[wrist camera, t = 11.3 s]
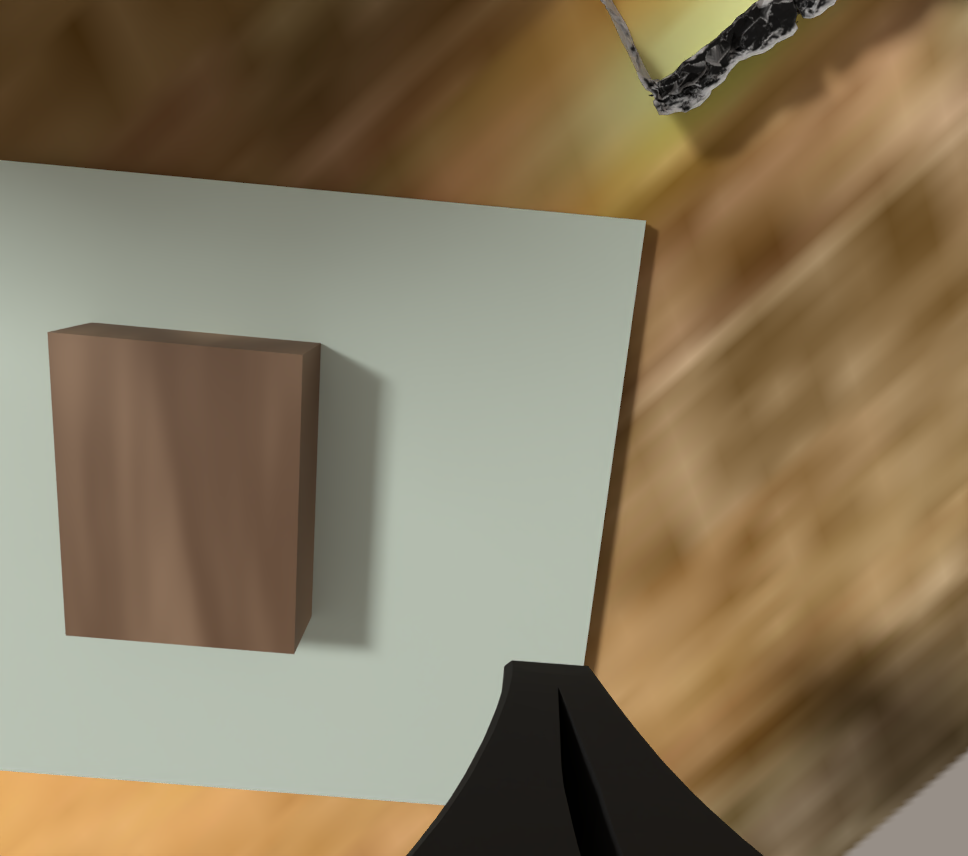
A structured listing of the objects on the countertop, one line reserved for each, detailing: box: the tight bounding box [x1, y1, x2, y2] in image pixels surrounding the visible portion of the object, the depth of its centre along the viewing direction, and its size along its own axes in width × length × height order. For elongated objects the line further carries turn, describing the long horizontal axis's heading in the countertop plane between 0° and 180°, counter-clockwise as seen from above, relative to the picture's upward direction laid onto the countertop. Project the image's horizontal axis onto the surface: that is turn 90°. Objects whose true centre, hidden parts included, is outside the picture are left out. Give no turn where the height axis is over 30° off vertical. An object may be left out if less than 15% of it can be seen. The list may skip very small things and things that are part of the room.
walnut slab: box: [47, 322, 321, 654], centre depth 19 cm, size 2×8×6 cm
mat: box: [0, 160, 646, 805], centre depth 21 cm, size 18×18×1 cm
